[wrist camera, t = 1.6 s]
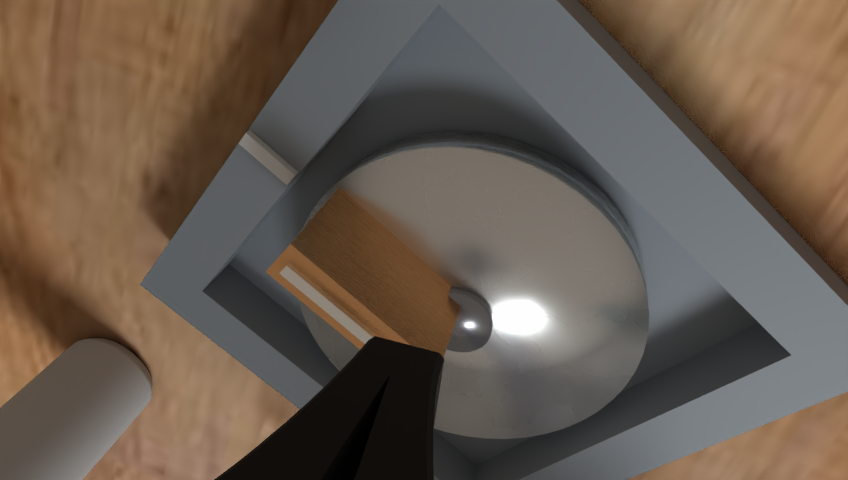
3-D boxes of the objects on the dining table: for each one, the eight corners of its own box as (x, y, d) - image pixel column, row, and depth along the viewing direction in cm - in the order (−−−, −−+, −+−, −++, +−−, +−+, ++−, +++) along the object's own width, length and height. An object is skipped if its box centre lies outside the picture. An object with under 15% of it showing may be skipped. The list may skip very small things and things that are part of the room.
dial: (728, 315, 18) (763, 441, 14) (474, 449, 25) (448, 561, 21) (455, 47, 16) (404, 104, 12) (256, 270, 23) (179, 356, 19)
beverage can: (82, 316, 29) (-190, 544, 19) (167, 365, 29) (-58, 615, 19) (72, 370, 32) (-169, 593, 22) (150, 414, 32) (-54, 654, 22)
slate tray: (874, 314, 18) (911, 375, 16) (480, 494, 28) (469, 548, 26) (454, -131, 15) (427, -133, 13) (177, 251, 25) (134, 288, 22)
